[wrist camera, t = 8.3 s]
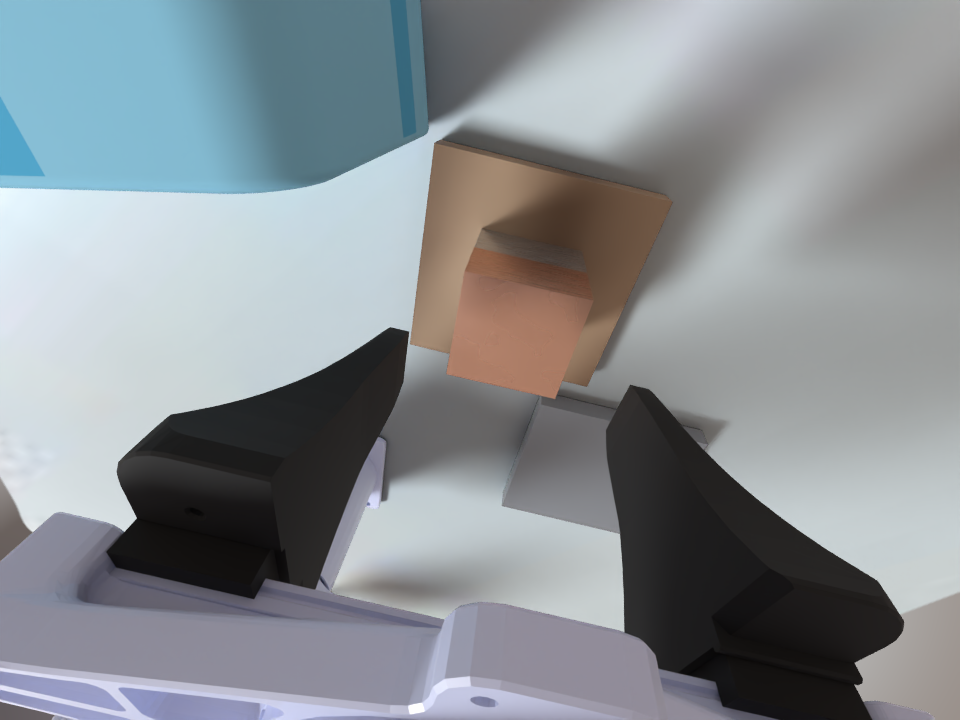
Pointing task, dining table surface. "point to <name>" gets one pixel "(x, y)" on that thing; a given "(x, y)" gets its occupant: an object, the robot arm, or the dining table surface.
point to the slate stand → (568, 464)
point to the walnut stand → (531, 237)
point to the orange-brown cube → (519, 313)
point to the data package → (205, 92)
